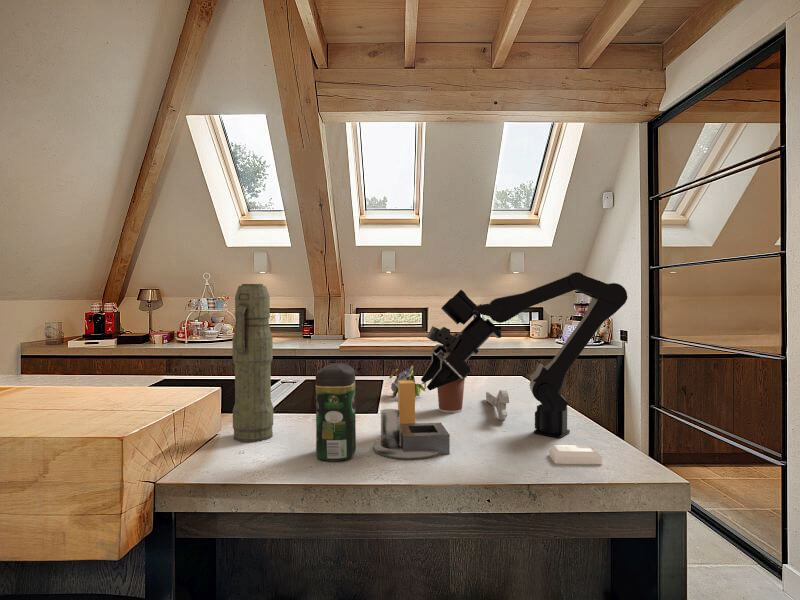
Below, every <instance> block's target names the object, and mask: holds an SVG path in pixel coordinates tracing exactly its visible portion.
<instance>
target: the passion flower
mask: <svg viewBox="0 0 800 600" xmlns="http://www.w3.org/2000/svg"><path fill="white" fill-rule="evenodd" d="M414 367H415V366H414V365H411V366H410V368H406V369H404V370H403V371H402V372H399V374H397V373H398V370H399V369H398V368H396V369H394V370H393V371H392V373H391V374H390V375H389V376H388V377H389V378H388V379H392V378H393V376H396V378H395V379H394V381H393V382H391V387H390V389H391V391H392V394H391V395H392V396H391V397H393V398H396V397H397V396H398V381H403V380H413V381H414V382H415V398H416V397H419V398H420V397H421V396H420V394H421V391H422V392H426V389H427V382H425V383H423V382H422V383H416V379H415V374H414ZM423 384H424V386H423Z"/></svg>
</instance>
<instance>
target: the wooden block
mask: <svg viewBox="0 0 800 600" xmlns="http://www.w3.org/2000/svg"><path fill="white" fill-rule="evenodd" d="M415 384H416V381H415V382H414V381H413V380H403V381H398V393H397V410H399V411H400V424H408V423H416V397H415Z"/></svg>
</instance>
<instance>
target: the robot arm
mask: <svg viewBox="0 0 800 600" xmlns="http://www.w3.org/2000/svg"><path fill="white" fill-rule="evenodd" d="M573 291H576V292H578V293H580V294H583V295H585V296H587V297H589V298H591V299H590V301H589V303H588V304H589V305H588V307H587V310H586V312H585V314H584V316H583V317H582V319H581V320H580V321H579V323H578V324H577V326H576V327H575V328H574V329H573V331H572V332H571V334H570V335H569V337H568V338H567V339H566V340H565V342H564V344H563V345H562V346H561V347H560V349H559V350H558V352H557V353H556V354H555V356H554V357H553V358H552V360H551V361H550V362H548V363H547V364H546V365H545V366H544V365H543V364H542V363H538V365H537V368H536V370H535V372H533V373H531V375H530V376H529V377H530V381H529V389H530V391H531V393H532V395H533V397H534V399H535V400H536V401H538V402H539V403H540V404H538V405H536V411H534V429H535V430H533V433H534V434H537V435H542V436H548V437H553V438H559V439H560V438H562V437H564V436H566V435H567V434H569V433H570V432H571V430H570V429H568V405H569V402H568V401H567V400H566V399H565V397H564V396H563V395H562V394H561V393H560V391H561V389H562V387H563V385H564V381H565V379H566V375H567V373H568V371H569V369H571V367H572V366H573V364H574V362H575V361H576V360H577V358H579V356H580V354H581V353H582V351H584V349H585V347H586V346H587V345H588V344H589V342H590V341H591V339H592V338H593V336H595V334H596V332H597V331H598V330H599V329H600V328H601V326H602V324H603V323H604V322H606V321H607V320H608V319H610V318H611V317H612V316H614V314H616V313H617V312H618V311H619V310H620V309H621V308H623V306H624V305H625V304H626V303H627V300H628V298H629V297H628V292H627V290H626V288H625V287H624V286H623V285H622V284H619V283H616V282H611V283H610V282H608V283H605V282H604V281H600V280H598V279H596V278H593V277H590V276H588V275H586V274H585V275H584V274H583V273H581V272H577V271H576V272H575V271H574V272H571V273H569V274H567V275H566V276H563V277H561V278H558V279H555V280H553V281H550V282H547V283H544V284H542V285H539V286H537V287H535V288H532V289H529V290H526V291H524V292H520V293H515V294H511V295H505V296H501V297H500V296H499V297H496V298H493V299H492V300H491V301H490V302H489V303H483V304H482V303H479V304H476V303H475V302H474V301H473V300H472V299H471V298H470V297H469V296H468V295H467V293H466V292H465V291H464V290H463V289H460V290H459V291H458V292H456V294H454V296H452V297H451V298H449V300H447V302H445V304H443V306H442V307H441V308H440V309H441V310H442V311H443V312H444V313H445V315H447V316H448V317H449V318H450V319H451V320H452V321H453V322H454V323H455V324H456V325H459V324H462V325H466V323H467V322H469V321H470V319H472V317H473V316H474V318H473V319H472V320H471V321H470V322H469V323H468V324H467V325H466V326H465V327H464V328H463V329H462V330H461V331H460V332H455V333H454V334H451V329H450V328H447V327H445V326H443V327H440V328H438V327H436V326H433V325H432V326H431V328H430V331H429V332H428V334H427V336H426V338H427V339H428V340H430V341H432V342H434V343H439V344H436V345H435V346H434V347H433V348H431V352H430V353H431V362H430V364H429V365H428V367H427V369H426V370H425V372H424V374H423V375H422V377H421V379H420V381H421V382H422V383H425V382H426V383H427V382H429V383H428V384H427V385H426V389H427V390H428V391H432V390H435V389H437V388H438V387H440V386H443V385H445V384H448V383H450V382H453V381H456V380H460V379H461V378H460V377H459V375H460V376H461V377H463V378H465V377H466V376H467V377H468V375H470V373H471V366H470V365H469V364H467V360H468V359H470V358H471V356H473V355H474V354H475V355H477V354H478V353H479V349H480V347H481V346H483V345H484V343H485V342H486V341H487V340H488V339H490V338H491V336H494V337H495V338H496V339H501V338H502V326H496V325H495V324H494V323H493V322H492V321H494V322H496V323H505V322H507V321H509V320H511V319H513V318H515V317H516V316H517V315H519V314H520V313H522V312H524V311H525V310H527V309H529V308H531V307H533V306H536V305H539V304H542V303H543V302H548V301H549V300H551V299H555V298H557V297H561V296H562V295H565V294H567V293H571V292H573ZM476 311H477V312H478V313H479V314H478V313H477V312H476ZM481 315H483V316H488V317H490V319H491V320H492V321H491V320H490V319H489V318H486V319H484V318H483V317H481ZM467 377H466V378H467ZM466 378H465V379H466Z"/></svg>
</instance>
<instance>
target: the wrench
mask: <svg viewBox="0 0 800 600" xmlns="http://www.w3.org/2000/svg"><path fill="white" fill-rule="evenodd" d="M485 400H486V402H487V401H488V402H487V403H488V404H490V405H492V406H493V407H495V408H496V411H497V416H498V421H506V419H507V418H508V417H507V416H508V411H507V404H509V403H510V397H509V392H508V390H507V389H500V390H499V391H498V393H497V394H496V393H495V392H493V391H486V392H485Z"/></svg>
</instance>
